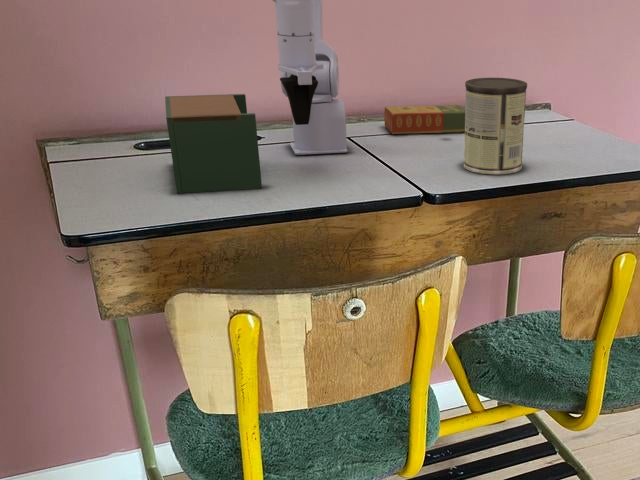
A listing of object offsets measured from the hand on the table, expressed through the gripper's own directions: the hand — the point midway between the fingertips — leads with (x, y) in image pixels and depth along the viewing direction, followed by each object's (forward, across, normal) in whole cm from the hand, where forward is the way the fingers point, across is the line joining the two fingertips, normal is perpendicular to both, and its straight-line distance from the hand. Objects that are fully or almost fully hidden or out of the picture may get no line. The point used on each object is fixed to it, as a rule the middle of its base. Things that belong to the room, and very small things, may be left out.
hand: (301, 123), depth 134 cm
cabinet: (+8, 0, +14) cm, 16 cm away
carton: (+8, +26, -29) cm, 40 cm away
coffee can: (+8, -5, -32) cm, 33 cm away
